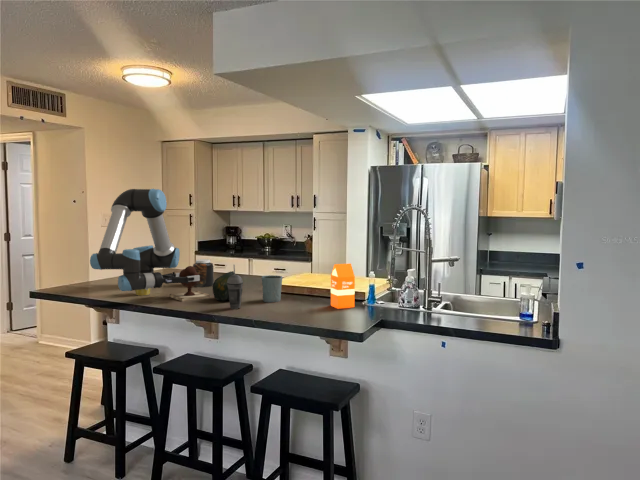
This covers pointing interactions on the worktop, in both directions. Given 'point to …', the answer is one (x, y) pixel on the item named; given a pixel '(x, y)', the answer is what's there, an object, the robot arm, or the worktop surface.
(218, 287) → the squash
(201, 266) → the jar
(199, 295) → the trivet
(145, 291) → the plant pot
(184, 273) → the ice cream bowl
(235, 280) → the beverage cup
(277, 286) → the blue-grey cup
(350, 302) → the orange juice
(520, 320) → the worktop surface
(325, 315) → the worktop surface
